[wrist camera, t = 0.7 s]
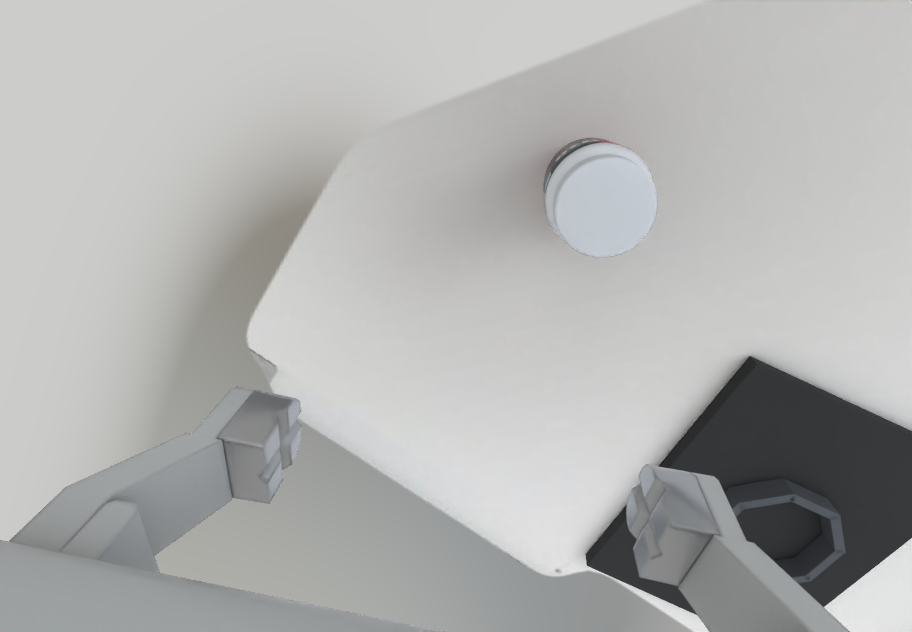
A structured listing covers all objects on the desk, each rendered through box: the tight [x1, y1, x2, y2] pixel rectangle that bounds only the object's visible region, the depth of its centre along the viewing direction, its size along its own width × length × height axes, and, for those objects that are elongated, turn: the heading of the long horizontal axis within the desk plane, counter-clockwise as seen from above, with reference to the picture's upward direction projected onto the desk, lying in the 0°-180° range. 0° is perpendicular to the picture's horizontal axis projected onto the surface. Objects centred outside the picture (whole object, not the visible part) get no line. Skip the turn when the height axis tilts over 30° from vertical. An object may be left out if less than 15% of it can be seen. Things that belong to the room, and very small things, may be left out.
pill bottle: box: [544, 138, 657, 257], centre depth 22 cm, size 5×5×8 cm
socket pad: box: [586, 357, 912, 615], centre depth 32 cm, size 20×16×2 cm
